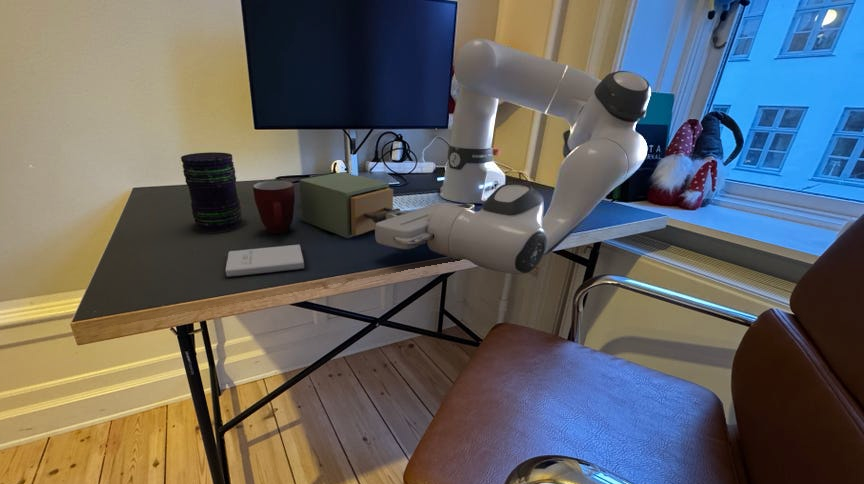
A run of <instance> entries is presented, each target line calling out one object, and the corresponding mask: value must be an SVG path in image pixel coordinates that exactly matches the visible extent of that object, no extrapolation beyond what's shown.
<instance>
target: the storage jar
mask: <svg viewBox="0 0 864 484" xmlns="http://www.w3.org/2000/svg"><path fill="white" fill-rule="evenodd" d="M180 161H181V162H182V169H183V170H182V171H183V176H184V179H185V181H184V182H185V183H186V186H187V187H188V191H189V196H190V200H191V202H190V207H191V213H192V217H193V219H194V222H195V229H196V230H197V231H198V232H201V233H208V234H218V233H225V232H226V233H227V232H230V231H234V230H237V229H239V228H241V227H242V226H243V225H244V223H243V219H242V217H243V216H242V207H241V202H240V199H239V197H238V192H237V185H236V183H237V176H236V168H235V165H234V161H233V154H232V153H229V152H227V153H226V152H217V151H215V152H214V151H213V152H196V153H188V154H185V155H181V156H180Z"/></svg>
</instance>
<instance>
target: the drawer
mask: <svg viewBox="0 0 864 484" xmlns="http://www.w3.org/2000/svg"><path fill="white" fill-rule="evenodd" d="M393 206H394V188H391V187H389V188H388V189H384V190H383V188H380V189H376V190H372V191H368V192H364V193H360V194H355V195H351V196H349V212H350V230H352V235H355V236H354V237H356V236H359V235H363V234H366V233H368V232H371V231H375V225H376V223H378V222H380V221H384V220H386V214H387V213H390V212H393V211H396V210H397V211H401V212H402V210H401V209H400V208H393Z"/></svg>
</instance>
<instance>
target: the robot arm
mask: <svg viewBox="0 0 864 484" xmlns="http://www.w3.org/2000/svg"><path fill="white" fill-rule="evenodd" d="M453 72H454V73H453V74H454V76H455V79H456V81H457V83H458V85H459V86H458V91H457V96H456V102H455V106H454V111H453V115H452V125H451V136H450V143H449V145H448V149H447V160H448V162H447V164H446V166H445V171H444V176H443V177H437V181H443V182H442V186H440V189H439V191H440V192H439V196H440V198H442V199H444V200H447V201H450V202H455V203H449V202H436V203H433V204H430V205H427V206H424V207H421V208H418V209H414V210H411V211H402V210H401V211H397V210H396V211H393V212H390V213H387V214H386V220H384V221H380V222H378V223H376V225H375V229H374V238H375V242H376V243H377V244H379V245H382V246H386V247H390V248H395V249H400V250H411V249H414V248H416V247H419V246H421V245H424V244H427V247H428V249H429V250H430V251H431V252H433V253H436V254H439V255H442V256H446V257H449V258H451V259H454V260H465V261H469V262H471V264H473V265H475V266H478V267H480V268H484V269H488V270H491V271H495V272H500V273H505V274H510V275H511V274H512V275H527V274H529V273H530V272H532V271H533V270H534V269H535V268H536V267H537V266H538V265H539V264H540V262H541V261H542V259H543V257H544V256H545V255H547V254H549V253H552V252H553V251H554V250H555V249H556V248H557V247H559V246H560V244H562V243H563V242H564V241H565V240H566V239H567V238H569V236H570V235H572V234H573V233H574V232H575V231H576V230H577V229H578V228H579V227H580V226H581V225H582V223H583V222H584V221H585V220H586V219H587V218H588V216H589V215H590V214H592V212H593V210H594V209H595V208H597V205H599V204H600V202H602V201H603V199H605V197H606V196H607V195H609V194H610V193H611V192H612V191H614V189H615V188H617V187H618V186H620V185H621V184H623V183H624V182H625V181H626V180H628V179H629V178H631V176H633V175H634V174H635V173H636V171H637V170H639V168H640V167H641V166H642V164H643V163H644V161H645V159H646V157H647V155H648V145H647V142H646V139H644V137H643V136H642V135H641V134H640V133H639V132H637V131H636V125H637V123H638V122H639V121H640V120H641V119H645V117H646V115H647V107H648V104H649V101H650V98H651V96H652V90H651V86H650V83H649V81H648V80H647V79H646V78H645V77H643V76H641V75H639V74H638V73H635V72H632V71H627V70H617V71H614V72H609V73H608V74H607V75H606V76H605V77H604V78H602V80H601V79H600V78H598V77H596V76H594V75H592V74H590V73H588V72H586V71H585V70H582V69H579V68H576V67H575V66H570V65H567V64H564V63H561V62H558V61H554V60H551V59H547V58H544V57H541V56H539V55H538V56H537V55H534V54H531V53H529V52H526V51H524V50H520V49H517V48H515V47H511V46H509V45H506V44H502V43H500V42H496V41H494V40H490V39H487V38H484V37H481V38H479V37H478V38H474V39H471V40H468V42H466V43H464V44H463V46H462V47H461V48H460V49H459V51H458V52H457V53H456V56H455V59H454V62H453ZM499 101H504V102H506V103H510V104H513V105H516V106H520V107H523V108H525V109H528V110H532V111H535V112H538V113H541V114H545V115H547V116H551V117H555V118H559V119H562V120H564V121H566V122H567V123H568V125H569V129H567V130H565V131H563V133H562V138H563V145H562V155H563V158H564V159H563V161H562V162H561V164H560V165H559V168H558V171H557V174H556V175H557V176H556V179H555V184H554V189H553V194H552V198H551V201H550V205H549V207H548V209H547V211H546V213H545V205H544V197H543V195H542V194H541V193H540V192H539V191H538V190H537V189H535V188H533V187H532V186H530V185H527V184H522V183H506V173H504V171H502V170H501V168H500V167H499V166H498V165H497V164H496V163H495V162H494V156H496V157H499V155H500V154H501V151H502V150H501V149H500V148H496V147H492V144H493V143H492V142H493V138H494V137H493V136H494V130H495V129H494V128H495V123H496V116H497V111H498V106H499V105H498V104H499ZM441 193H442V194H443V195H442V194H441ZM457 203H462V204H457ZM475 204H481V205H482V206H481V209H480V210H479V211H475ZM544 213H545V214H544Z"/></svg>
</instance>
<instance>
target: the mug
mask: <svg viewBox="0 0 864 484" xmlns="http://www.w3.org/2000/svg"><path fill="white" fill-rule="evenodd" d="M252 191H253V198H254V202H255V205H256V208H257V211H258V215H259V218H260V221H261V222H262V225H264V227H265V229H266V230H267V231H268V232H269V233H270V234H272V235H283V234H286V233H288V232H289V230H290V227H291V226H292V223H293V220H294V213H295V212H294V211H295V201H296V199H295V198H296V193H295V184H294V183H293V182H291V181H287V180H266V181H259V182H257V183H256V182H255V183H254V184H253V185H252Z"/></svg>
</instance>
